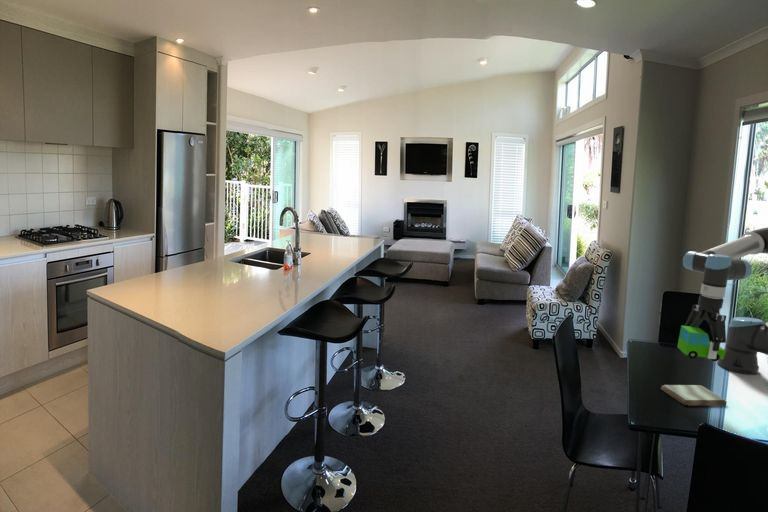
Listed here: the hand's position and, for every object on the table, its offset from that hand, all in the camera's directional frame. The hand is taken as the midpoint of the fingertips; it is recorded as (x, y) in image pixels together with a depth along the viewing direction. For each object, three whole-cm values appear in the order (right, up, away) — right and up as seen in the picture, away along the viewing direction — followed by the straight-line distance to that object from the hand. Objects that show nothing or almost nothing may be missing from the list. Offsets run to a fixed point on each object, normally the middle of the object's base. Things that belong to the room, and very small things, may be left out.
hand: (700, 352), depth 185 cm
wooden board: (-1, -18, +3) cm, 18 cm away
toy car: (0, -2, 0) cm, 2 cm away
